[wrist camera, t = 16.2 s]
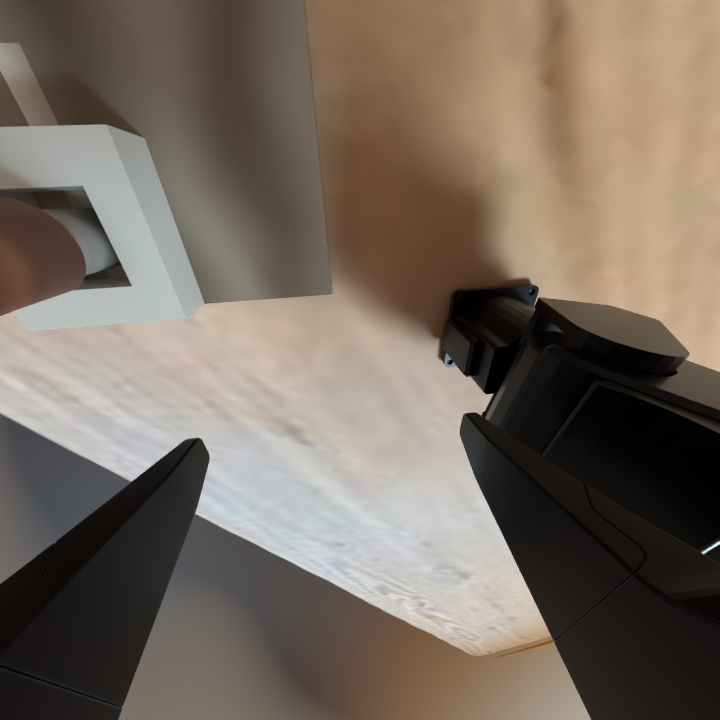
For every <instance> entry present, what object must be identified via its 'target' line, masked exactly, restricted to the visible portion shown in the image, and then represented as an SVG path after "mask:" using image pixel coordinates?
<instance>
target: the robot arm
mask: <svg viewBox="0 0 720 720" xmlns="http://www.w3.org/2000/svg"><path fill="white" fill-rule="evenodd" d="M531 289H532V291H531V292H530V293H529V291H530V290H531ZM538 290H539V289H538V287H537V286H535V285H532V284H526V285H513V286H500V287H487V288H474V289H460V290H457V291H455V292H454V293H453V295H452V300H451V306H450V313H449V318H448V319H447V320H446V325H445V332H444V339H443V346H442V348H443V349H444V355H443V363H444V364H445V366H447V367H455V366H457V367H458V368H459V369H460V371H461V372H462V373H463V374H464V375H465V376H466V377H469V376H471V377H472V379H473V380H474V381H475V382H476V383H477V385H478V386H479V387H480V388H481V389H482V391H483V392H484V393H485V394H493V393H494V394H493V396H492V398H491V400H490V402H489V404H488V406H487V408H486V410H485V412H483V413H482V415H479V414H478V413H465V414H464V415H463V418H462V422H461V427H460V436H461V439H462V442H463V445H464V448H465V451H466V453H467V456H468V459H469V462H470V465H471V467H472V470H473V473H474V475H475V478H476V480H477V482H478V484H479V487H480V489H481V491H482V493H483V495H484V497H485V499H486V501H487V503H488V505H489V507H490V509H491V512H492V514H493V516H494V518H495V520H496V522H497V524H498V526H499V528H500V530H501V532H502V534H503V536H504V539H505V541H506V543H507V545H508V547H509V549H510V551H511V553H512V555H513V557H514V559H515V561H516V564H517V566H518V568H519V570H520V572H521V574H522V576H523V578H524V580H525V582H526V584H527V586H528V588H529V591H530V593H531V595H532V597H533V599H534V601H535V603H536V605H537V607H538V609H539V611H540V613H541V616H542V618H543V620H544V622H545V624H546V626H547V628H548V630H549V632H550V634H551V636H552V638H553V640H554V643H555V645H556V647H557V649H558V651H559V653H560V655H561V658H562V660H563V662H564V664H565V666H566V668H567V670H568V672H569V674H570V676H571V678H572V680H573V682H574V685H575V687H576V689H577V691H578V693H579V695H580V697H581V699H582V701H583V703H584V705H585V707H586V710H587V712H588V714H589V715H590V718H591V720H720V372H718V371H715V370H712V369H709V368H707V367H704V366H701V365H698V364H695V363H693V362H690V361H687V360H686V358H687V357H688V356H689V355H690V354H689V352H688V351H687V350H686V348H685V347H684V346H683V345H682V344H681V343H680V342H679V341H678V340H677V339H676V338H675V337H674V336H673V335H672V333H671V332H670V331H669V330H668V329H667V328H666V327H665V326H664V325H663V324H662V323H661V322H660V321H659V320H656V319H653V318H650V317H647V316H643V315H640V314H637V313H633V312H630V311H627V310H623V309H620V308H617V307H613V306H609V305H601V304H592V303H584V302H575V301H566V300H558V299H549V298H538V300H537V302H536V304H535V301H536V298H537V294H538ZM461 294H462V297H461V298H460V299H458V300H457V298H458V296H459V295H461ZM534 304H535V306H534ZM450 359H451V361H450V362H448V361H449V360H450ZM208 464H209V453H208V451H207V449H206V447H205V445H204V443H203V441H202V439H200V438H192V439H186V440H185V441H183V442H182V443H181V444H179V445H178V446H177V447H176V448H174V449H173V450H172V451H170V452H169V453H168V454H167V455H165V456H164V457H163V458H161V459H160V460H159V461H158V462H156V463H155V464H154V465H153V466H151V467H150V468H149V469H147V470H146V471H145V472H144V473H142V474H141V475H140V476H139V477H137V478H136V479H135V480H133V481H132V482H131V483H130V484H128V485H127V486H126V487H124V488H123V489H122V490H121V491H119V492H118V493H117V494H116V495H114V496H113V497H112V498H111V499H109V500H108V501H107V502H105V503H104V504H103V505H101V506H100V507H99V508H98V509H96V510H95V511H94V512H93V513H91V514H90V515H89V516H87V517H86V518H85V519H84V520H82V521H81V522H80V523H79V524H77V525H76V526H75V527H74V528H72V529H71V530H70V531H68V532H67V533H66V534H64V535H63V536H62V537H61V538H59V539H58V540H57V541H56V543H53V544H52V545H50V546H49V547H48V548H47V549H45V550H44V551H43V552H41V553H40V554H39V555H38V556H36V557H35V558H34V559H32V560H31V561H30V562H29V563H27V564H26V565H25V566H24V567H22V568H21V569H19V570H18V571H17V572H16V573H14V574H13V575H12V576H10V577H9V578H8V579H6V580H5V581H4V582H3V583H1V584H0V720H118V719H119V716H120V713H121V711H122V706H123V704H124V702H125V699H126V697H127V694H128V691H129V689H130V686H131V683H132V680H133V678H134V675H135V672H136V670H137V667H138V664H139V662H140V659H141V656H142V654H143V651H144V648H145V646H146V643H147V640H148V638H149V635H150V632H151V629H152V627H153V624H154V622H155V619H156V616H157V613H158V611H159V608H160V605H161V603H162V600H163V597H164V595H165V592H166V589H167V586H168V584H169V581H170V579H171V576H172V573H173V571H174V568H175V565H176V562H177V560H178V557H179V555H180V552H181V549H182V547H183V544H184V541H185V538H186V536H187V533H188V530H189V528H190V525H191V522H192V519H193V517H194V514H195V511H196V509H197V505H198V502H199V498H200V495H201V491H202V487H203V483H204V479H205V475H206V472H207V468H208Z"/></svg>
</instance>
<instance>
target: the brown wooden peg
mask: <svg viewBox="0 0 720 720" xmlns="http://www.w3.org/2000/svg"><path fill="white" fill-rule="evenodd" d="M119 265H122V264H121V262H120V260H119V258H118V256H117V254H116V252H115V250H114V248H113V246H112V244H111V242H110V240H109V238H108V236H107V234H106V232H105V230H104V228H103V226H102V224H101V222H100V220H99V218H98V216H97V214H96V212H95V210H94V209H93V208H72V209H39V208H37V207H35V206H33V205H31V204H28V203H26V202H23V201H20V200H16V199H11V198H2V197H0V316H1V315H4V314H7V313H10V312H12V311H15V310H18V309H21V308H24V307H27V306H30V305H33V304H35V303H38V302H41V301H44V300H47V299H50V298H53V297H55V296H58V295H61V294H64V293H67V292H70V291H72V290H74V289H76V288H77V287H79V286H80V285H81V283H82V282H83V280H84V278H85V276H86V275H89V274H92V273H96V272H99V271H102V270H106V269H109V268H112V267H115V266H119Z"/></svg>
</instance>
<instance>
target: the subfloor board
mask: <svg viewBox="0 0 720 720" xmlns="http://www.w3.org/2000/svg"><path fill="white" fill-rule="evenodd" d="M103 124H107V125H109V126H112V127H115V128H118V129H120V130H123V131H126V132H129V133H132V134H134V135H137V136H140V137H143V138H145V141H146V143H147V146H148V149H149V152H150V154H151V157H152V160H153V163H154V165H155V168H156V171H157V174H158V176H159V179H160V182H161V185H162V187H163V190H164V193H165V196H166V198H167V201H168V204H169V207H170V209H171V212H172V215H173V218H174V221H175V223H176V226H177V229H178V232H179V234H180V237H181V240H182V243H183V245H184V248H185V251H186V254H187V256H188V259H189V262H190V265H191V267H192V270H193V273H194V276H195V278H196V281H197V284H198V287H199V289H200V292H201V295H202V298H203V301H204V303H205V304H207V303H220V302H234V301H247V300H260V299H274V298H287V297H301V296H314V295H328V294H332V282H331V272H330V262H329V251H328V241H327V231H326V221H325V210H324V200H323V190H322V179H321V169H320V159H319V149H318V138H317V128H316V118H315V107H314V97H313V87H312V77H311V66H310V56H309V46H308V35H307V25H306V15H305V5H304V0H0V127H21V126H62V125H103ZM31 193H32V195H33V197H34V198H35V200H36V202H37V203H38V205H39V207H40V209H72V208H93V206H92V204H91V202H90V200H89V198H88V196H87V194H86V191H85V190H77V191H53V192H31ZM93 209H94V208H93ZM117 277H127V275H126V272H125V270H124V268H123V266H122V265H119V266H115V267H112V268H109V269H106V270H102V271H99V272H96V273H92V274H89V275H86V276H85V278H84V280H86V279H101V278H117Z"/></svg>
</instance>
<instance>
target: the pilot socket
mask: <svg viewBox="0 0 720 720" xmlns="http://www.w3.org/2000/svg"><path fill="white" fill-rule="evenodd" d="M77 190H85V191H86V194H87V196H88V198H89V200H90V202H91V204H92V206H93V208H94V210H95V212H96V214H97V216H98V218H99V220H100V222H101V224H102V226H103V228H104V230H105V232H106V234H107V236H108V238H109V240H110V242H111V244H112V246H113V248H114V250H115V252H116V254H117V256H118V258H119V260H120V262H121V264H122V266H123V268H124V270H125V272H126V275H127V277H117V278H101V279H86V280H83V282H82V283H81V285H80V286H79V287H77V288H76V289H74V290H72V291H70V292H67V293H64V294H61V295H58V296H55V297H53V298H50V299H47V300H44V301H41V302H38V303H35V304H33V305H30V306H27V307H24V308H21V309H18V310H15V311H12V313H13V314H14V315H15V317H16V318H17V319H18V321H19V322H20V323H21V324H22V326H23V327H24V328H25V330H26V331H35V330H48V329H61V328H74V327H87V326H99V325H112V324H125V323H138V322H151V321H163V320H176V319H187V318H188V317H189V316H190V315H192V314H193V313H194V312H195V311H196V310H198V309H199V308H200V307H201V306H202V305H204V304H205V303H204V301H203V298H202V295H201V292H200V289H199V287H198V284H197V281H196V278H195V276H194V273H193V270H192V267H191V265H190V262H189V259H188V256H187V254H186V251H185V248H184V245H183V243H182V240H181V237H180V234H179V232H178V229H177V226H176V223H175V221H174V218H173V215H172V212H171V209H170V207H169V204H168V201H167V198H166V196H165V193H164V190H163V187H162V185H161V182H160V179H159V176H158V174H157V171H156V168H155V165H154V163H153V160H152V157H151V154H150V152H149V149H148V146H147V143H146V141H145V138H143V137H140V136H137V135H134V134H132V133H129V132H126V131H123V130H120V129H118V128H115V127H112V126H109V125H107V124H103V125H62V126H21V127H0V197H2V198H11V199H16V200H20V201H23V202H26V203H28V204H31V205H33V206H35V207H37V208H39V209H40V207H39V205H38V203H37V202H36V200H35V198H34V197H33V195H32V193H31V192H53V191H77Z"/></svg>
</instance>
